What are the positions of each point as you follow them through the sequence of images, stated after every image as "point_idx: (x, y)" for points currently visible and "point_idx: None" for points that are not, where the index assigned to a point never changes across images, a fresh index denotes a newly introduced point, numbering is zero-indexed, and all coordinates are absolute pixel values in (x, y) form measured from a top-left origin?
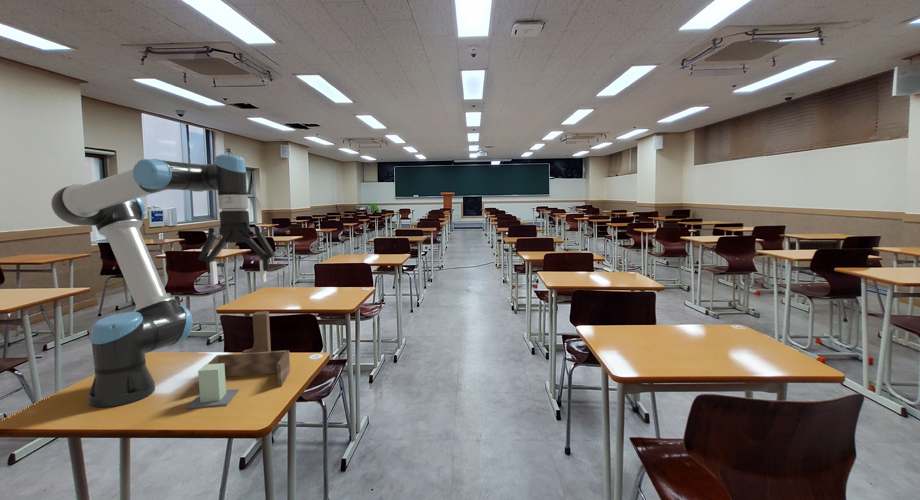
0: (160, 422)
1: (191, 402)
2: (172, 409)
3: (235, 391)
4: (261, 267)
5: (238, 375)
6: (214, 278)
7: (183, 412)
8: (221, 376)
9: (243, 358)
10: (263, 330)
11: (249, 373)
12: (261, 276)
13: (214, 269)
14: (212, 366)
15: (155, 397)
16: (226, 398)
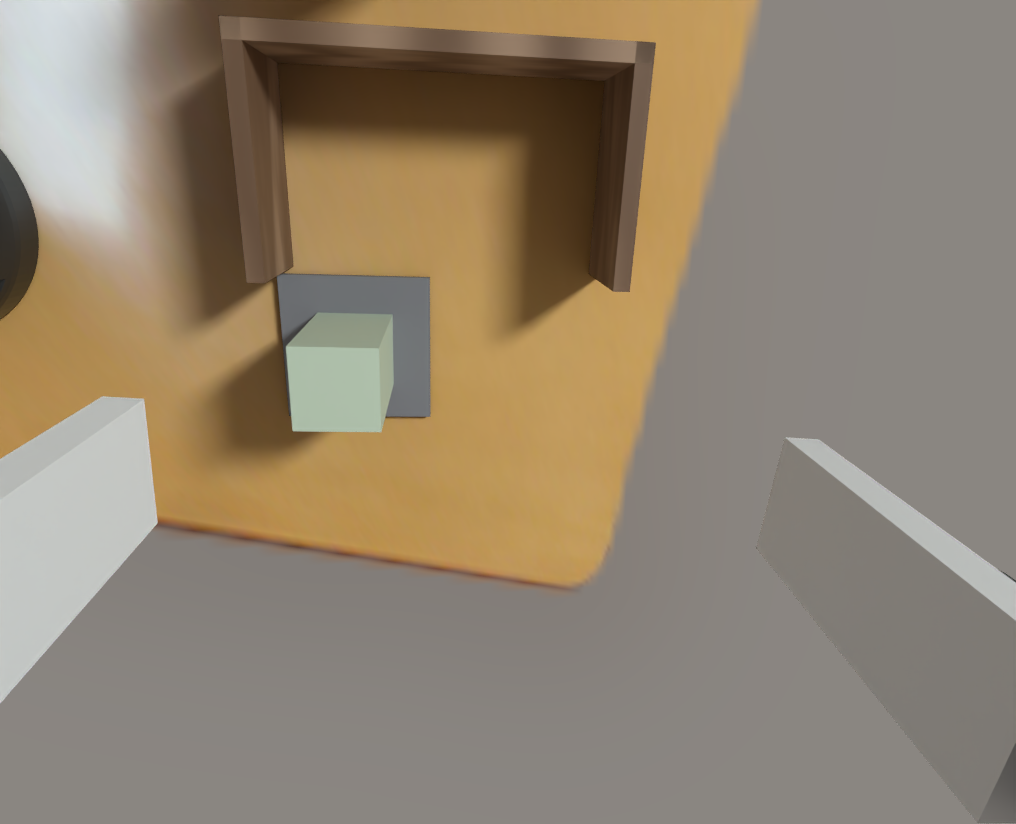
0: (251, 496)
1: (286, 377)
2: (235, 405)
3: (425, 304)
4: (904, 702)
5: (366, 67)
6: (108, 544)
7: (292, 438)
8: (385, 379)
9: (388, 52)
10: None
11: (421, 68)
12: (809, 600)
13: (8, 618)
14: (337, 386)
15: (85, 269)
16: (412, 369)
